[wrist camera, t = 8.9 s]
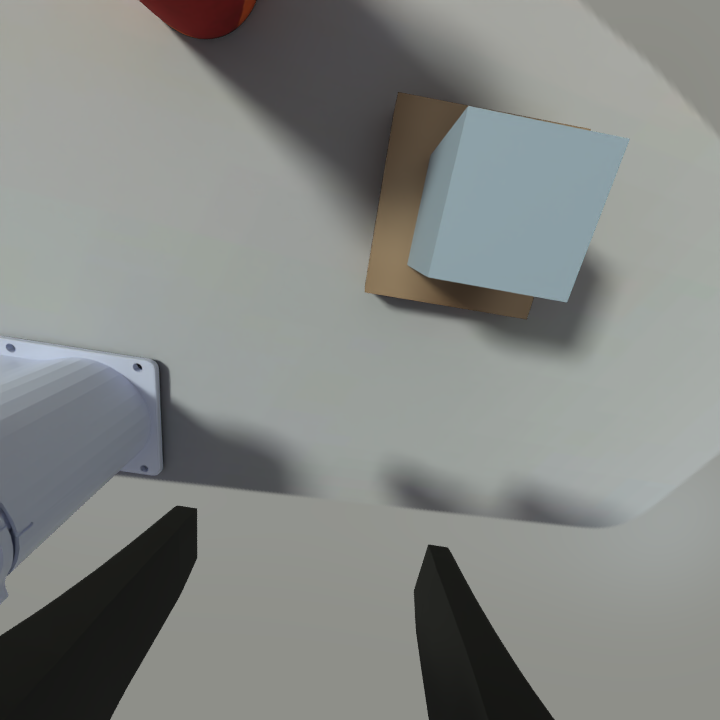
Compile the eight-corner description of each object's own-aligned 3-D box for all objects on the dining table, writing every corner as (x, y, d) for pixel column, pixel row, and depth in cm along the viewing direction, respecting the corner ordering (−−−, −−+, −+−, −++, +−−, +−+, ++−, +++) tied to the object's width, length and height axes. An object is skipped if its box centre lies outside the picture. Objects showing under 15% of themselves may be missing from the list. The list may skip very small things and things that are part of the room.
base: (364, 286, 18) (364, 292, 16) (394, 110, 15) (398, 92, 13) (509, 311, 18) (526, 319, 16) (563, 142, 16) (590, 129, 14)
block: (407, 265, 16) (427, 277, 10) (430, 155, 14) (468, 105, 9) (500, 282, 16) (567, 302, 11) (533, 175, 14) (630, 139, 9)
